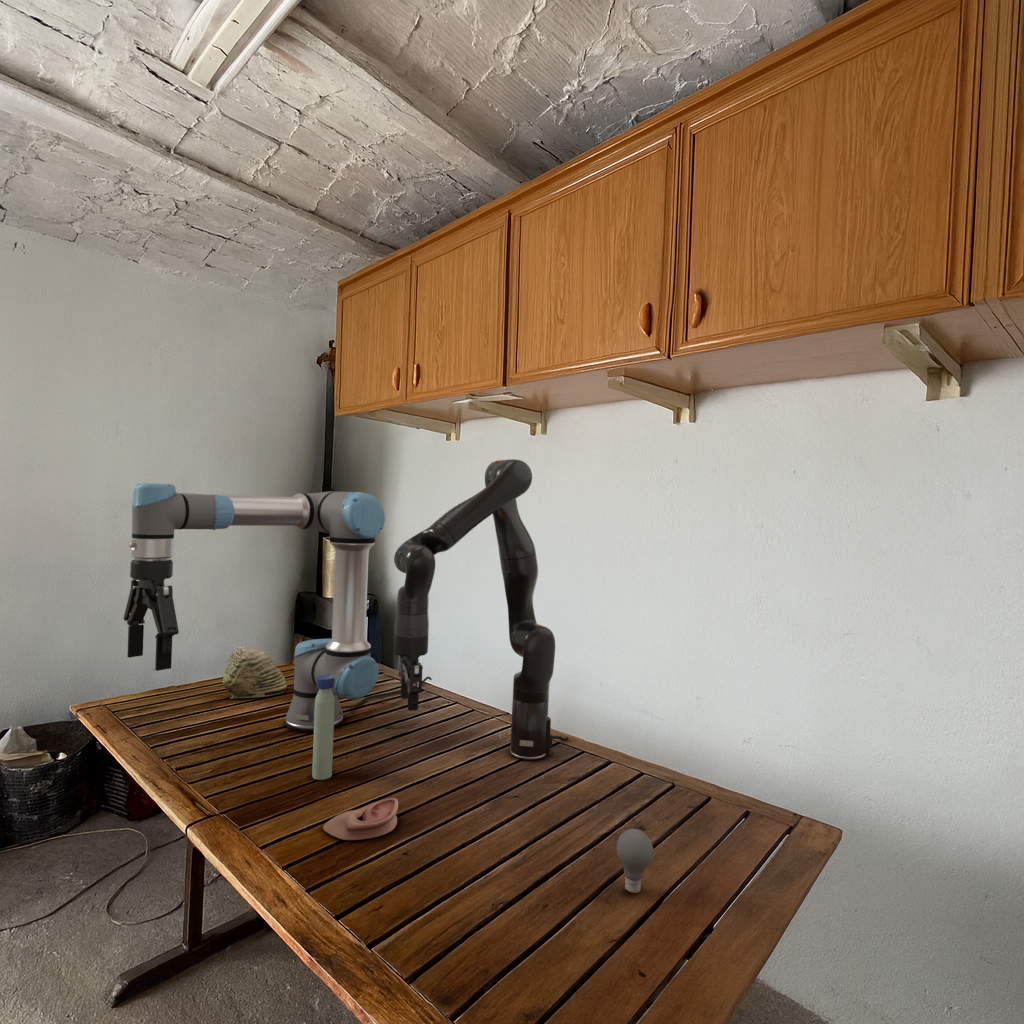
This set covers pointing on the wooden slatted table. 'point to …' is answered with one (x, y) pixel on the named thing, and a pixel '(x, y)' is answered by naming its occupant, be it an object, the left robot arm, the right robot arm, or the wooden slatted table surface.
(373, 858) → the wooden slatted table surface
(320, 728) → the bottle
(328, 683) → the cap
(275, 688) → the fossil
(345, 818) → the anatomical model
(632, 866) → the light bulb
